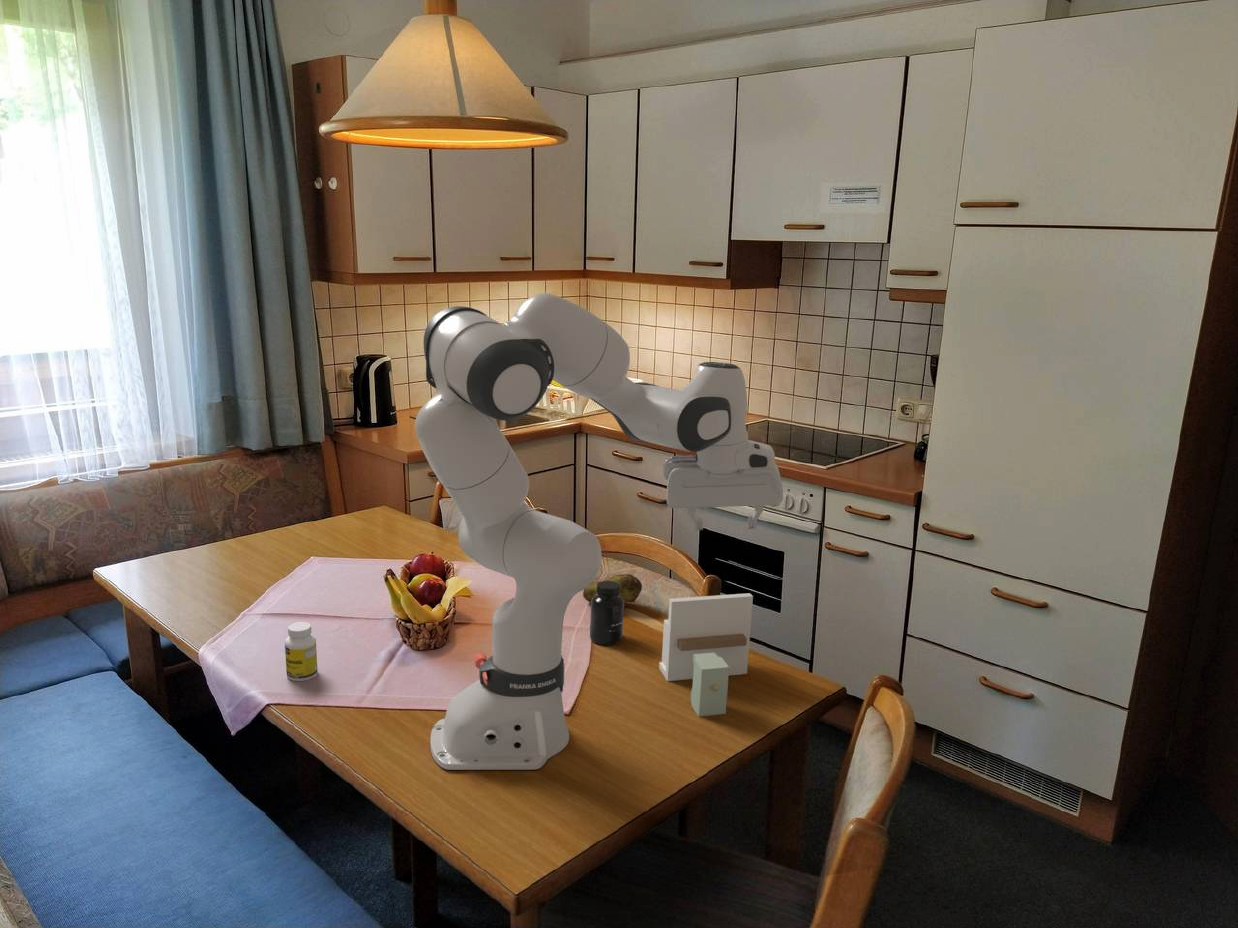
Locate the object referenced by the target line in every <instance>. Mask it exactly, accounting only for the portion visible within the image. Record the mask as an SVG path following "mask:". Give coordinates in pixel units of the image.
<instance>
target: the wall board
mask: <svg viewBox="0 0 1238 928" xmlns="http://www.w3.org/2000/svg"><path fill="white" fill-rule="evenodd" d="M753 599H754V595H752V594H751V593H749V592H748V593H735V594H733V593H732V594H720V595H719V594H718V595H717V594H716V595H707V596H706V595H701V596H692V597H677V598H675V597H674V598H669V601H668V602H669V603H668V604H669V605H668V618H667V619H663V631H662V632H663V633H662V650H661V652H662V653H661V661H658V664H659V665H658V668H659V670H660V672H661V673H662V675H663V676H664V678H665V680H666V681H667V682H673V681H682V680H683V681H684V680H685V681H686V680H693V670H694V663H693V654H702V653H714V652H715V654H716V655H717V656H718V657H721V658H722V659H723V660H724V661H725V663H726V664H727V665H728V666H729V675H728V677H729V676H737V675H747V674H748V665H749V664H748V663H749V653H750V652H749V650H750V639H751V626H752V614H753Z"/></svg>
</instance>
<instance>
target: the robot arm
mask: <svg viewBox="0 0 1238 928" xmlns="http://www.w3.org/2000/svg"><path fill="white" fill-rule="evenodd" d="M513 315H514V316H513V317H512V318H511V319H510V320H508V321H505V322H503V324H502V323H500V322H498V321H496V320H495V319H493V318H492V317H491V316H488V315H487V314H486V313H485V312H483V311H481V310H479V309H476V308H472V307H469V306H450V307H447V308H444V309H442V310H440V311H439V312H437V313H436V314H435V315H434V316H432V318H431V319H430V320H429V322H427V325H426V328H425V330H424V335H423V353H424V354H423V355H424V358H425V380H426V382H427V383H428V384H429V385H430V386H431V387H432V388H434V389H435V394H434V395H433V396H432V397H431V398H430V399H428V400H427V401H426V402H425V403H424V404H423V405H422V407H420V409H419V411H418V412H417V415H416V418H415V420H414V422H415V423H414V431H415V434H416V435H415V436H416V438H417V440H418V443H419V445H420V447H421V450H422V452H423V454H424V456H425V458H426V460H427V462H428V465H429V466H430V468H431V469H432V471H433V473H434V474H435V476H436V477H437V479H438V480H439V481H440V483H441V485H442V487H444V489H445V490H446V492H447V493H448V495H449V496H450V498H451V500H452V501H453V503H454V504H455V506H456V507H457V508H458V510H459V511H460V513H461V515H462V519H461V521H460V524H459V527H458V542H459V546H460V548H461V550H462V552H463V553H464V554H465V555H466V556H467V557H469V558H470V559H471V560H473V561H475V562H476V563H477V564H479V565H481V566H482V567H484V568H485V569H487V570H490V571H494V572H497V573H499V574H501V575H505V576H507V577H509V578H513V579H514V581H515V584H516V589H515V595H514V597H511V598H510V599H507V600H506V601H504V602H503V603H502V604H501V605H500V606H499V607H498V608H497V609H496V611H495V612H494V614H493V616H492V621H491V622H492V623H491V624H492V628H491V629H492V631H491V632H492V633H491V634H492V635H491V636H492V637H491V639H492V642H491V643H492V645H491V647H492V648H491V651H492V652H491V653H492V654H491V656H490V657H489V658H487V655H485V653H482V652H481V653H479V652H478V653H477V654H476V655H475V656H474V659H473V660H474V663H475V665H474V666H475V667H476V668H477V669H478V670H479V671H478V672H479V673H478V675H479V676H478V679H477V680H476V681H475V682H473V683H471V684H470V685H469V686H467V687H466V688H464V689H463V690H461V691H460V692H458V693H457V694H455V695H454V696H453V697H452V698H451V700H450V702H449V703H448V706H447V709H446V711H445V717H444V718H442V719H439V720H438V721H437V722H436V723H435V724H434V725H433V727H432V729H431V732H430V739H429V740H430V742H429V743H430V745H429V746H430V751H431V755H432V757H433V759H434V761H435V762H436V763H437V765H438V766H439V767H441V768H442V769H444V770H453V771H454V770H455V771H457V770H459V771H460V770H461V771H463V770H468V771H469V770H470V771H474V770H477V771H479V770H480V771H481V770H482V771H483V770H484V771H485V770H486V771H487V770H488V771H489V770H495V771H497V770H500V771H501V770H502V771H503V770H505V771H506V770H507V771H508V770H510V771H511V770H512V771H513V770H538V769H540V768H542V767H543V766H544V765H545V764H546V762H547V761H548V759H550V758H552V757H554V756H556V755H557V754H559V753H560V752H562V750H564V749H565V747H566V746H567V745H568V744H569V741H570V731H569V729H568V727H567V726H568V725H567V722H566V715H565V710H564V704H563V703H564V702H563V691H564V685H565V660H564V658H563V655H562V643H563V628H564V618H565V614H566V611H567V609H568V606H569V604H570V603H571V601H572V599H573V598H574V597H575V596H576V595H577V594H579V593H580V592H583V591H584V589H585V588H586V587H588V586H589V585H590V584H592V583H593V582H594V580H595V579H596V577H597V575H598V574H599V571H600V569H601V564H602V547H601V544H600V541H599V539H598V537H597V536H596V534H594V533H592V532H591V531H590V530H587V529H586V528H585V527H583V526H581V525H579V524H578V523H576V522H574V521H572V520H569V519H566V518H562V517H559V516H556V515H553V514H549V513H546V512H542V511H539V510H537V509H535V508H533V507H531V506H530V505H528V504H527V503H526V502H525V501H526V500H527V496H528V493H529V490H530V489H529V488H530V478H529V475H528V473H527V471H526V470H525V468H524V467H523V465H522V463H521V461H520V460H519V458H518V456H517V454H516V453H515V451H514V450H513V448H512V446H511V445H510V443H509V441H508V439H507V438H506V437H505V435H504V434H503V431H502V430H501V429H500V427H499V425H498V421H497V420H499V421H505V422H511V421H516V420H519V419H520V418H523V417H524V416H526V415H527V414H528V413H530V412H531V411H532V410H533V409H535V407H536V406H537V405H538V404H539V403H540V402H541V400H542V398H543V397H544V396H545V394H546V391H547V389H548V387H549V386H550V385H551V384H552V381H553V382H555V383H557V385H560V386H561V387H563V388H565V389H567V390H569V391H570V392H572V393H575V394H577V395H579V396H582V397H585V398H588V399H590V400H592V402H594V403H596V404H597V405H599V406H600V407H602V408H603V409H604V410H606V411H607V412H608V413H609V414H611V415H612V416H613V417H614V419H615V421H616V422H617V424H618V425H619V427H620V429H621V431H623V433H624V434H625V435H626V437H628V438H629V439H631V441H636V442H643V443H649V444H655V445H659V446H663V447H665V448H666V447H667V448H670V449H675V450H678V451H683V452H689V453H691V452H692V453H696V454H692V455H691V454H689V455H683V456H682V455H680V456H679V455H673V456H671V457H670V458H668V459H666V460H665V461H664V463H663V466H662V468H663V469H662V471H663V477H664V479H666V480H667V485H666V504H667V505H668V507H670V509H686V510H687V515H688V516H689V518H690V519H691V520H692V522H693V523H694V531H703V530H704V520H703V517H698V515H697V513H696V509H700V508H703V509H704V508H725V507H726V508H728V507H729V508H731V507H733V508H734V507H754V508H753V509H754V512H753V515H752V516H750V515H749V516H748V517H747V520H748V521H747V523H748V525H747V527H748V530H750V529H753V530H755V529H756V530H757V528H758V523H757V522H758V520H759V518H760V516H761V515H762V513H763V511H764V508H763V507H764V506H779V505H781V504H782V502H783V500H784V491H783V484H782V483H783V482H782V478H781V474H780V470H779V467H778V464H777V463H776V462H775V461H776V455H775V451H774V449H773V448H772V446H771V445H769V444H765V443H762V442H758V441H754V440H751V439H749V433H748V430H747V426H746V422H747V421H746V419H747V416H748V397H747V395H748V394H747V385H746V380H745V376H744V372H743V370H742V369H741V367H739V366H738V365H736V364H734V363H729V362H716V361H704V362H701V363H699V364H697V366H696V371H695V374H694V376H693V377H692V379H691V380H690V382H688V383H687V384H686V385H685V386H684V387H683V388H681V389H676V388H675V389H674V388H670V387H665V386H664V387H663V386H660V385H656V384H653V383H648V382H633V380H631V379H630V378H628V377H627V374H628V373H629V372H628V371H629V367H630V362H631V355H630V349H629V345H628V343H627V342H626V341H625V339H624V338H623V337H622V336H621V335H620V334H619V332H618V331H617V330H615V329H614V328H613V327H612V326H611V325H609V324H608V323H606V322H605V321H604V320H602V319H601V318H600V317H598V316H596V315H595V314H594V313H592V312H590V311H589V310H587V309H586V308H585V307H582V306H580V305H578V304H577V303H574V302H572V301H571V300H568V299H565V298H564V297H561V296H558V295H555V294H553V293H537V294H534V295H532V296H530V297H529V298H527V299H525V300H524V302H522V303H521V304H520V306H519V307H518V308H517V310H516V311H515V313H514V314H513Z"/></svg>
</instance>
